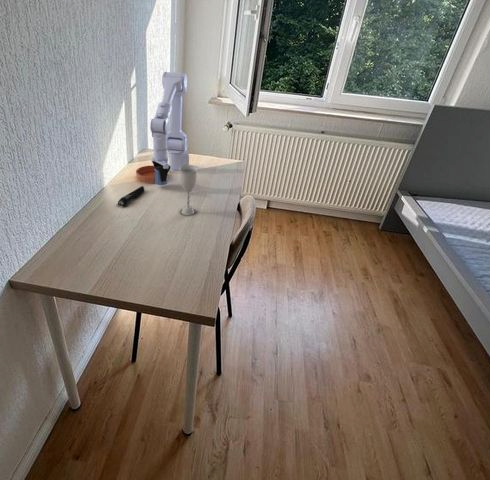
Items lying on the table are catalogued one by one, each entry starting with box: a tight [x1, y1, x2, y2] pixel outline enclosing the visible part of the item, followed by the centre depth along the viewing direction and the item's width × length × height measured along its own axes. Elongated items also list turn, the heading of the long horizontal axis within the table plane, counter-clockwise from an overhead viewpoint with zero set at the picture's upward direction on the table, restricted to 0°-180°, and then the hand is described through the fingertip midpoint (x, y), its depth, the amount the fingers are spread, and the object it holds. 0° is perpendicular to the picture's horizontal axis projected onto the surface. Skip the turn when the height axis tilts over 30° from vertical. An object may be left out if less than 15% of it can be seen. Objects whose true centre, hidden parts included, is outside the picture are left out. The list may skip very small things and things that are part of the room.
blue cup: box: [154, 167, 169, 186], centre depth 150 cm, size 5×5×6 cm
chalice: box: [179, 164, 199, 216], centre depth 132 cm, size 7×7×18 cm
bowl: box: [135, 165, 156, 184], centre depth 162 cm, size 14×14×4 cm
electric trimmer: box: [117, 185, 145, 208], centre depth 143 cm, size 4×16×3 cm, turn 153°
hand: (161, 178), depth 151 cm, fingers closed on blue cup, 5 cm apart
